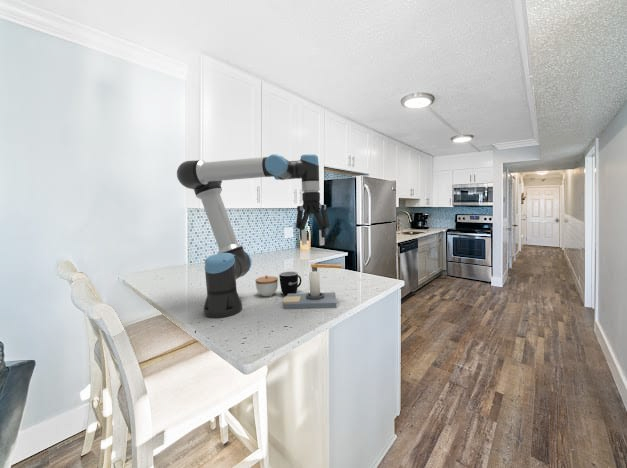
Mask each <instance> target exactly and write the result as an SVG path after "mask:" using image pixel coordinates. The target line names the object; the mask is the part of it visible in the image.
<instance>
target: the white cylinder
mask: <svg viewBox="0 0 627 468" xmlns="http://www.w3.org/2000/svg"><path fill="white" fill-rule="evenodd" d="M308 275H309V279H308V280H309V293H310V297H319V296H320V292H321V281H320V271H318V270H317V271H313V272H312V271H309V273H308Z"/></svg>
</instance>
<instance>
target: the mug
mask: <svg viewBox="0 0 627 468" xmlns="http://www.w3.org/2000/svg"><path fill="white" fill-rule="evenodd" d="M278 277H279V278H278V279H279V285H280V289H281V293H282V295H284V297H287V294H291V293H298V288H299V287H300V286H301V284H302V277H301V276H300V275H299V273H298V271H283V272H280V273H279V275H278Z"/></svg>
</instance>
